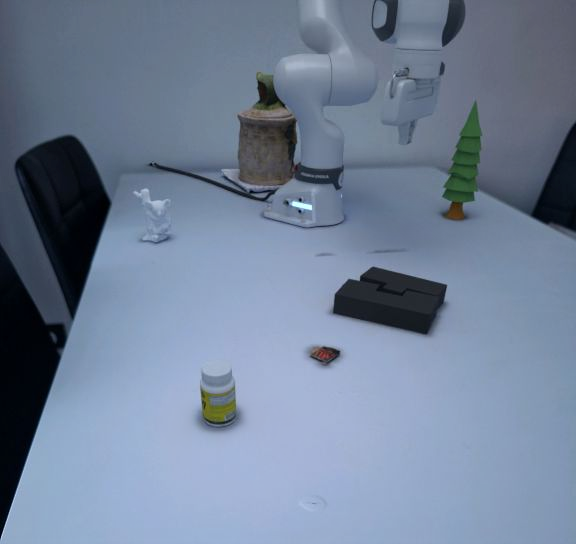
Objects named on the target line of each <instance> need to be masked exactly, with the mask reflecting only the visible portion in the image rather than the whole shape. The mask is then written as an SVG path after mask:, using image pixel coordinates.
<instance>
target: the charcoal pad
mask: <svg viewBox="0 0 576 544" xmlns="http://www.w3.org/2000/svg"><path fill="white" fill-rule="evenodd" d="M379 287H380V285H378V284H373V283H368V282H363V281H360V280H358V279H353V278H352V279H351V278H348V279H347V280H346V281H345V282H344V283H343V284H342V285H341V286H340V288H339V289H338V290H337V291H336V292H335V293H334V295H333V296H334V297H333V310H332V313H333V314H336V315H340V316H345V317H349V318H354V319H357V320H362V321H367V322H371V323H375V324H379V325H384V326H388V327H393V328H397V329H401V330H407V331H409V332H415V333H419V334H424V335H427V334H428V333H429V330H430V328H431V327H432V325H433V323H434V322H435V321H434V320H435V318H436V316H437V313H438V310H437V308H438V303H439V298H440V297H438V296H433V295H428V294H423V293H418V292H413V291H408V290H406V291H405V293H404V294H403V296H399V295H394V294H389V293H384V292H379Z"/></svg>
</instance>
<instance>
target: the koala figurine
mask: <svg viewBox="0 0 576 544" xmlns="http://www.w3.org/2000/svg"><path fill="white" fill-rule="evenodd" d="M133 195H134V196H135V197H137V198H138V199H139V200H141V204H140V205H141V207H142V208H143V211H144V213H145V222H146V223H145V226H146V228H145V229H146V233H147V234H146V235H145V236H144V237H142V241H145V242H147V241H149V242H154V243H159V242H160V241H165V240H166V239H168V235H167V234H166V233H168V232H169V231H170V230H171V228H172V224H173V222H172V221H173V220H172V216H171V214H170V212H169V210H168V209H170V208H171V205H172V201H171V200H170V199H169V198H168V199H167V198H166V199H164V200H160V199H157V200H153V201H152V199H151V194H150V190H149V188H142V189H141V190H140V192H138V191H136V190H134V191H133Z"/></svg>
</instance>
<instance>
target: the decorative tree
mask: <svg viewBox="0 0 576 544" xmlns="http://www.w3.org/2000/svg"><path fill="white" fill-rule="evenodd" d="M477 103H478V102H477V99H475V100H474V103H473V104H472V106H471V109H470V112H469V114H468V116H467V119H466V121H465V123H464V125H463V127H462V129H461V130H460V132H459V134H458V136H459V139H458V142H457V143H456V145H455V146H454V148H455V149H456V151H455V153H454V154H453V156H452V158H451V161H452V162H453V163H452V164H451V167H450V168H449V169H448V171H447V173H446V174H447V175H450V176H449V177H448V179H447V180H446V182H445V183H444V184H443V186H442V188H444V189H445V190H444V191H443V193H442V195H441V198H443V199H445V200H446V201H449V202H450V205H449V208H448V210H447V211H446V213H445V214H444V217H445V218H446V219H449V220H450V219H451V220H456V221H460V220H463V219H465V218H467V217H466V215H465V213H464V210H463V209H464V208H463V205H464V204H465V203H470V202H471V203H472V202H475V201H476V197H475V192H479V188H478V183H477V179H476V177H477V176H478V175H479V168H478V164H481V157H480V152H481V151H482V140H481V137H483V131H482V128H481V125H480V119H479V113H478V112H479V111H478V104H477Z"/></svg>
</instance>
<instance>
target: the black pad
mask: <svg viewBox="0 0 576 544" xmlns="http://www.w3.org/2000/svg"><path fill="white" fill-rule="evenodd" d="M359 281H363V282H368V283H373V284H378V285H380V287H379V292H384V293H389V294H394V295H399V296H403V294H404V293H405V291H406V290H408V291H413V292H418V293H423V294H428V295H433V296H438V297H440V298H439V303H438V308H437V311H438V310H439V309H440V308H441V307H442V306H443V304H444V303H445V298H446V294H447V289H448V284H446V283H443V282H437V281H433V280H429V279H427V278H422V277H417V276H413V275H410V274H405V273H402V272H397V271H393V270H389V269H385V268H381V267H377V266H373V265H372V266H371V267H370V268H369V269H367V270H366V271H364V272H363V273H361V274H360V276H359Z"/></svg>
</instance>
